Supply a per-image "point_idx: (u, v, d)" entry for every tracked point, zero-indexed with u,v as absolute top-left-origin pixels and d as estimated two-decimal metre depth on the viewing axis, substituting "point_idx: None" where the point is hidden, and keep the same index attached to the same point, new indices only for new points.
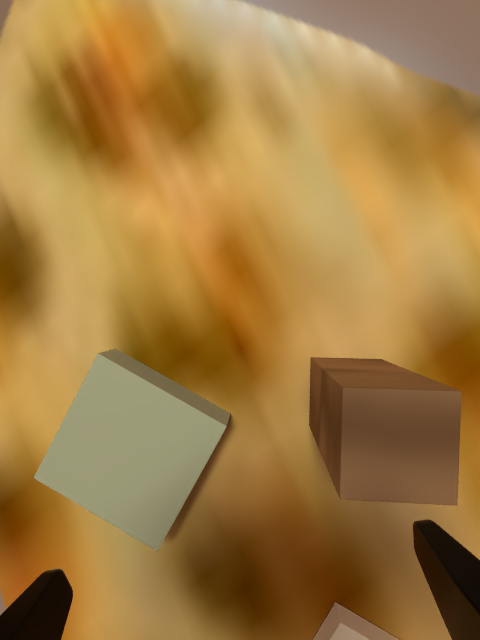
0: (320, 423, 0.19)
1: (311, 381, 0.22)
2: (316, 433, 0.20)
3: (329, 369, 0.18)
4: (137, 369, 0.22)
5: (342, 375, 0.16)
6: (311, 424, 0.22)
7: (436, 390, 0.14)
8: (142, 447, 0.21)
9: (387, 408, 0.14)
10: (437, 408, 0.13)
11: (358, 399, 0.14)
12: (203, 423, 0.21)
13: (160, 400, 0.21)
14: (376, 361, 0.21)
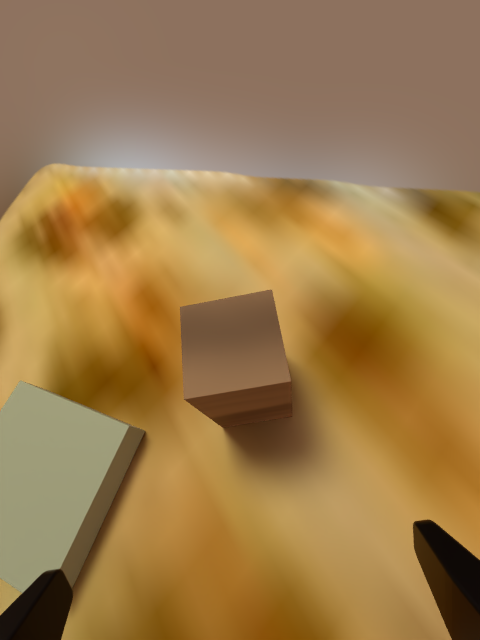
0: None
1: None
2: None
3: None
4: (55, 394, 0.24)
5: None
6: None
7: None
8: (44, 465, 0.20)
9: (216, 314, 0.16)
10: (256, 305, 0.16)
11: (193, 312, 0.16)
12: (107, 427, 0.21)
13: (68, 412, 0.22)
14: None
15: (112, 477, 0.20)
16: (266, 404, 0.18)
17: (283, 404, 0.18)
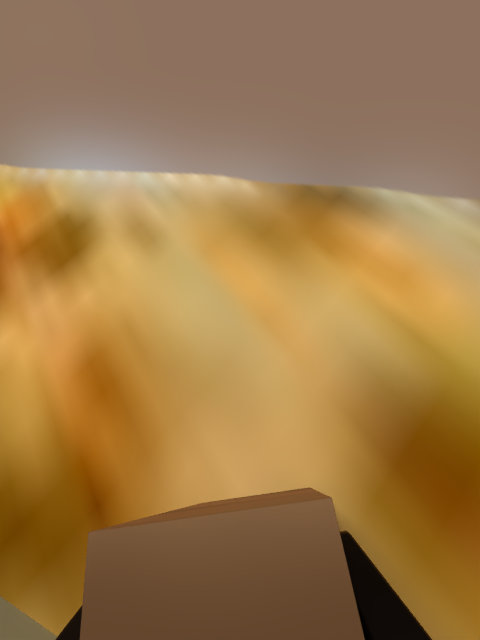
0: None
1: None
2: None
3: (174, 511, 0.10)
4: None
5: (167, 514, 0.09)
6: None
7: (282, 505, 0.06)
8: None
9: (180, 572, 0.06)
10: (290, 554, 0.06)
11: (119, 557, 0.06)
12: None
13: None
14: (293, 490, 0.13)
15: None
16: None
17: None
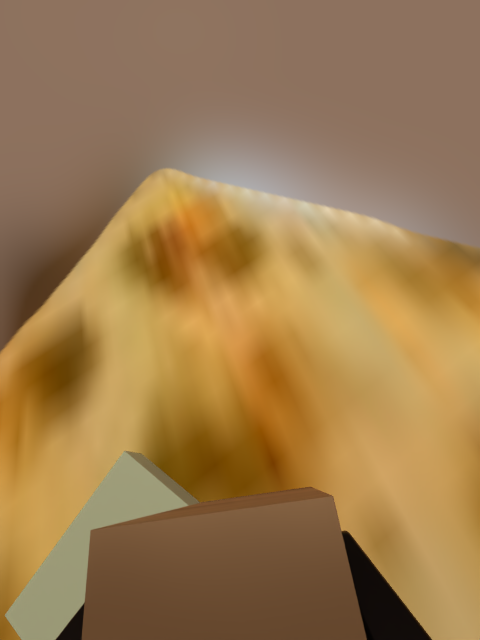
0: None
1: None
2: None
3: None
4: (160, 476, 0.20)
5: (168, 513, 0.09)
6: None
7: (284, 503, 0.06)
8: None
9: (182, 569, 0.06)
10: (291, 552, 0.06)
11: (121, 555, 0.06)
12: None
13: None
14: (294, 489, 0.13)
15: None
16: None
17: None
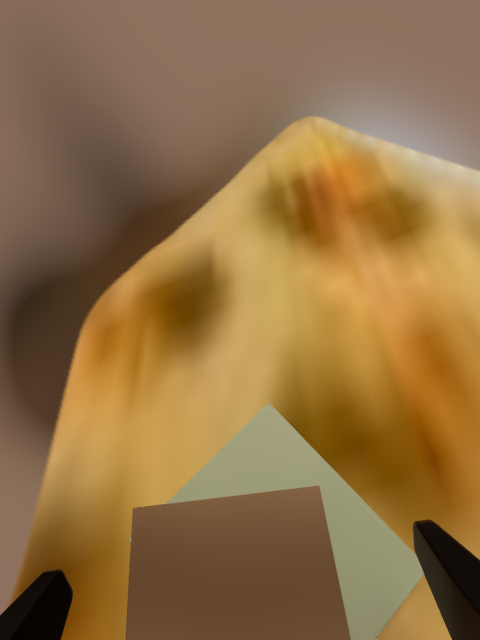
0: None
1: None
2: None
3: None
4: None
5: None
6: None
7: (282, 490, 0.08)
8: None
9: (204, 538, 0.08)
10: (287, 526, 0.08)
11: (157, 527, 0.08)
12: (391, 548, 0.14)
13: (333, 489, 0.16)
14: None
15: None
16: None
17: None
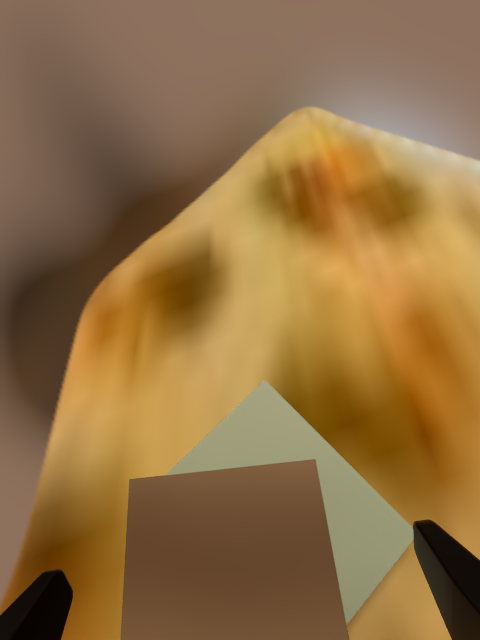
0: None
1: None
2: None
3: None
4: None
5: None
6: None
7: (278, 463, 0.08)
8: None
9: (200, 509, 0.08)
10: (282, 498, 0.08)
11: (153, 497, 0.08)
12: (382, 515, 0.15)
13: (326, 460, 0.16)
14: None
15: None
16: None
17: None
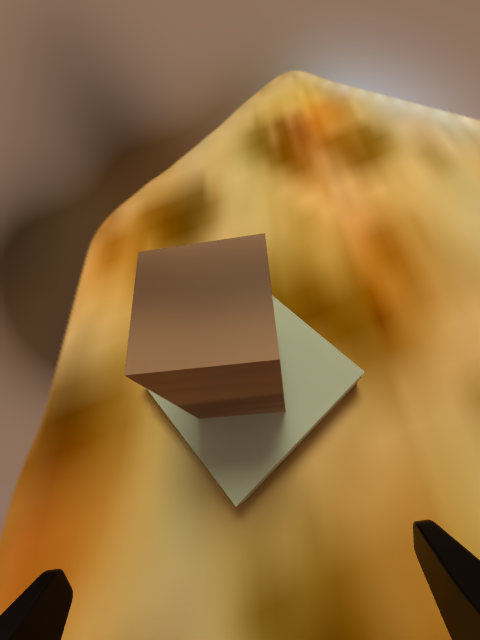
0: None
1: None
2: None
3: None
4: None
5: None
6: None
7: (239, 239, 0.12)
8: None
9: (185, 262, 0.12)
10: (240, 254, 0.11)
11: (154, 259, 0.12)
12: (337, 362, 0.18)
13: (295, 327, 0.20)
14: None
15: (323, 415, 0.18)
16: (249, 392, 0.13)
17: (272, 394, 0.14)
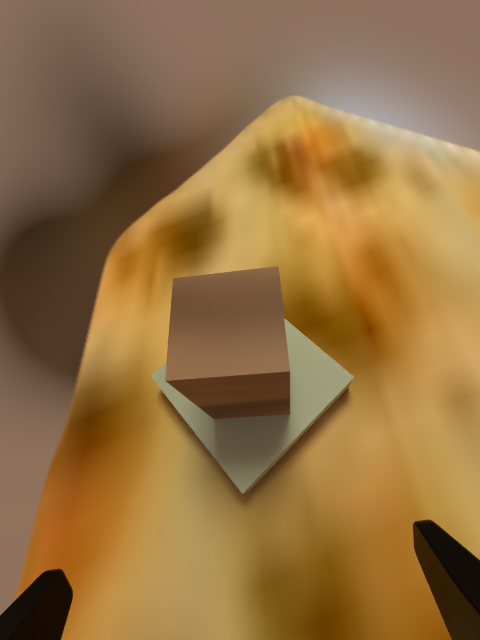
0: None
1: None
2: None
3: None
4: None
5: None
6: None
7: None
8: None
9: (212, 289, 0.14)
10: (258, 283, 0.14)
11: (186, 285, 0.15)
12: (330, 368, 0.21)
13: (293, 338, 0.22)
14: None
15: (318, 416, 0.21)
16: (261, 397, 0.16)
17: (280, 399, 0.16)
